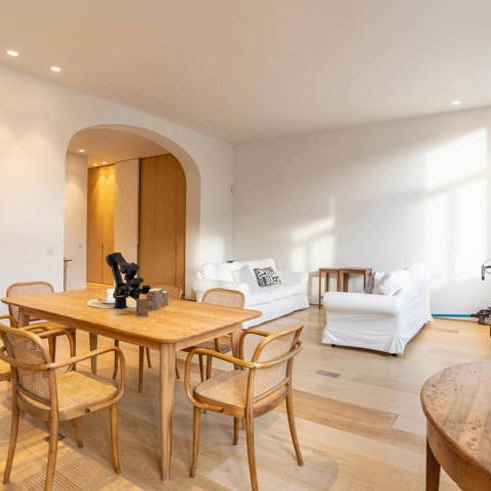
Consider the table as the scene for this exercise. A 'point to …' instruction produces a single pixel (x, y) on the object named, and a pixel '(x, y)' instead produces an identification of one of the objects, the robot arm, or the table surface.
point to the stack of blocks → (157, 298)
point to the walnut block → (142, 307)
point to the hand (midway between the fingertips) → (138, 301)
